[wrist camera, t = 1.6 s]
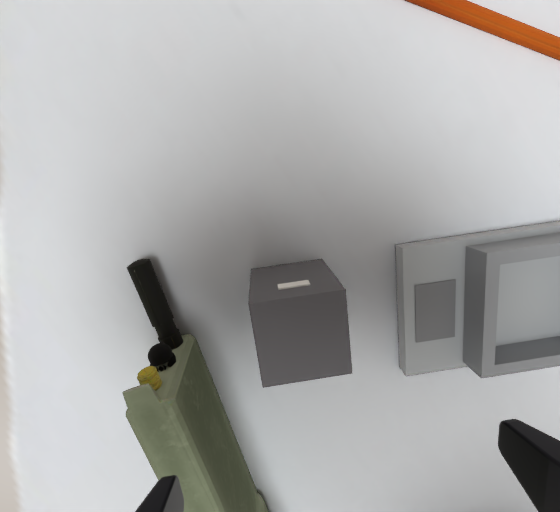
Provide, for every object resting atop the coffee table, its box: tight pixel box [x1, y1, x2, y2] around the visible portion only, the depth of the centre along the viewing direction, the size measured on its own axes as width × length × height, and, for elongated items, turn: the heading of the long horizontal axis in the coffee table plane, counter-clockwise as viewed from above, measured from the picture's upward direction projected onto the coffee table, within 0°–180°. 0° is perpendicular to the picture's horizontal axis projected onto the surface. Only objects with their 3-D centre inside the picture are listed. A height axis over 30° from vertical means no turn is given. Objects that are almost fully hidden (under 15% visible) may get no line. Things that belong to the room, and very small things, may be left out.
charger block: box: [249, 259, 352, 387], centre depth 17 cm, size 5×4×6 cm
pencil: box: [406, 0, 560, 60], centre depth 17 cm, size 1×19×1 cm, turn 74°
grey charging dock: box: [395, 221, 560, 378], centre depth 20 cm, size 9×14×3 cm, turn 97°
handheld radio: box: [123, 259, 268, 512], centre depth 19 cm, size 7×3×25 cm
